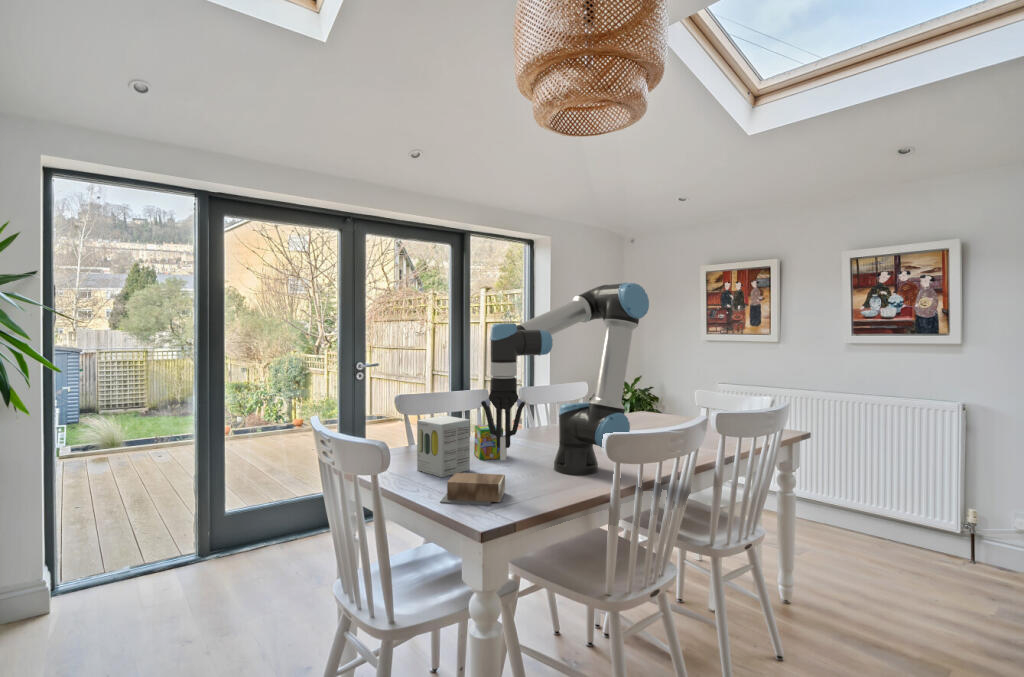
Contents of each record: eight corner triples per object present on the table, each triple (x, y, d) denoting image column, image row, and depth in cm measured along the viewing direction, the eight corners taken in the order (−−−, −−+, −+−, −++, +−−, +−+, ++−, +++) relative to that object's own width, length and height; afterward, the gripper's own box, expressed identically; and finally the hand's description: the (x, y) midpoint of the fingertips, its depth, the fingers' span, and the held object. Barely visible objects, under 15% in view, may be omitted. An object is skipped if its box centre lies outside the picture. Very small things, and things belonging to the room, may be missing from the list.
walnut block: (505, 474, 161) (455, 472, 163) (499, 484, 151) (447, 481, 153) (504, 491, 161) (455, 489, 163) (499, 502, 151) (447, 499, 153)
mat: (498, 488, 166) (498, 487, 166) (489, 505, 150) (489, 504, 150) (453, 486, 167) (453, 485, 167) (440, 503, 152) (440, 501, 152)
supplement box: (415, 470, 186) (415, 419, 185) (444, 463, 196) (444, 415, 195) (442, 477, 177) (442, 424, 177) (470, 469, 187) (470, 419, 187)
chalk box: (473, 455, 209) (474, 416, 208) (496, 453, 211) (497, 415, 211) (479, 460, 200) (479, 420, 199) (503, 459, 203) (503, 419, 202)
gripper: (527, 376, 158) (527, 456, 159) (483, 375, 160) (483, 455, 161) (524, 378, 151) (524, 463, 152) (478, 377, 153) (478, 461, 153)
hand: (503, 458), depth 156 cm, fingers closed
